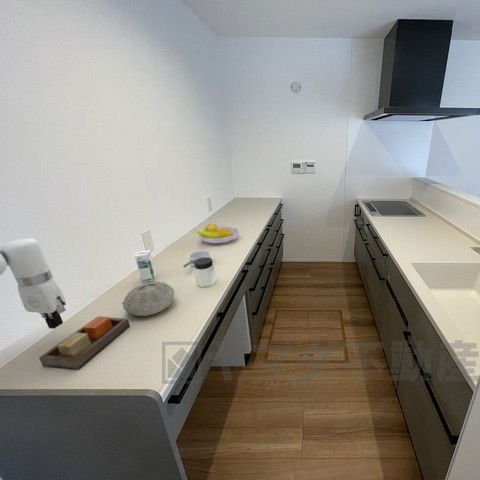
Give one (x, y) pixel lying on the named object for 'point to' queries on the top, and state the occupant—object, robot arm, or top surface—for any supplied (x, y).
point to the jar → (204, 272)
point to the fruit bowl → (217, 234)
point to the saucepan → (197, 256)
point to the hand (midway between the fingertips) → (56, 325)
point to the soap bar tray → (84, 343)
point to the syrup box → (145, 266)
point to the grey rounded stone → (148, 298)
